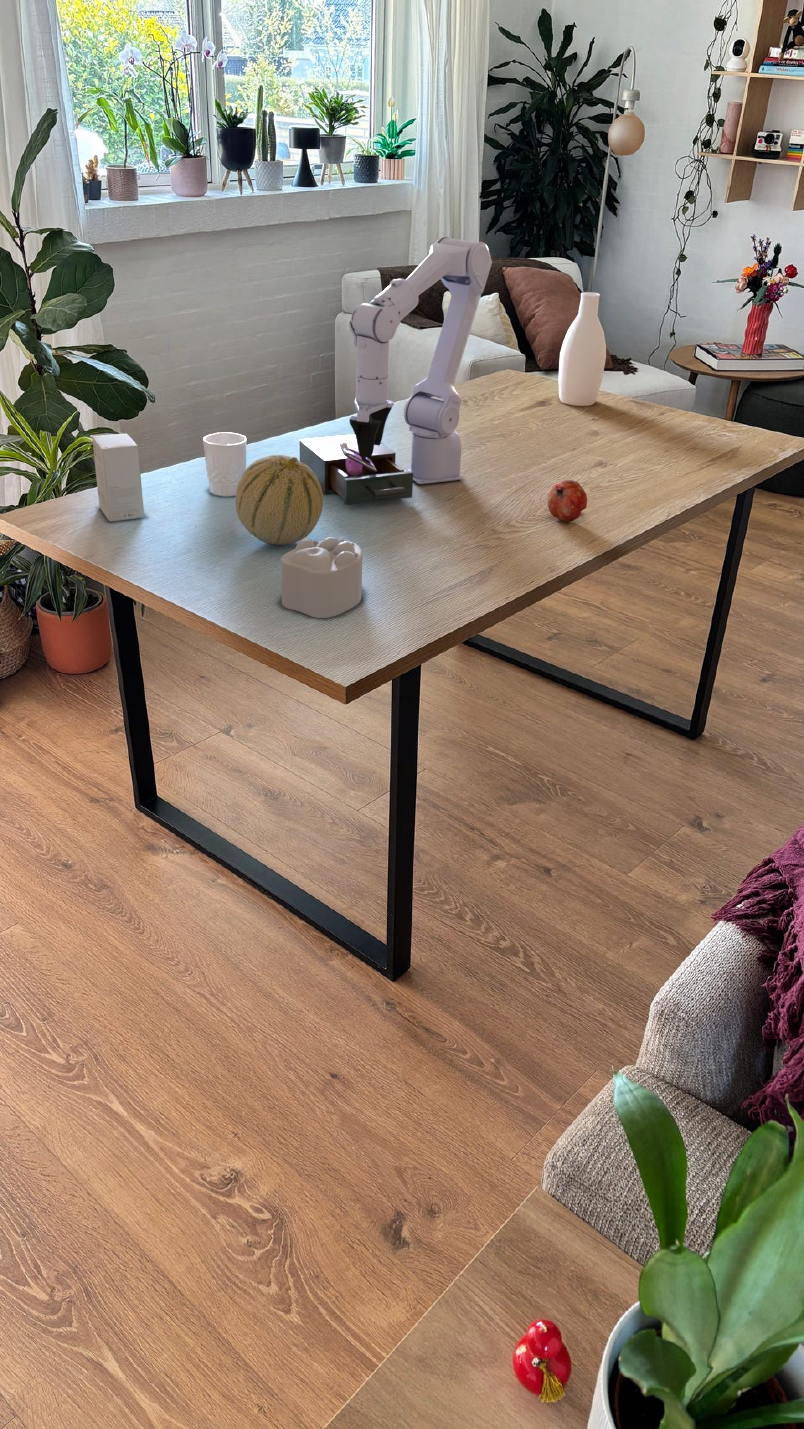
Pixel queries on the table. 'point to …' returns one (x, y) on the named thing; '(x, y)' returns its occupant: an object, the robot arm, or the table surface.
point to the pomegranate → (567, 500)
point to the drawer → (371, 482)
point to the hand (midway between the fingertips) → (370, 450)
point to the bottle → (583, 355)
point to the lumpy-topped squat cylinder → (322, 577)
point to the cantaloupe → (279, 499)
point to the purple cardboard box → (355, 461)
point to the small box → (118, 476)
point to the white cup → (224, 462)
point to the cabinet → (333, 455)
